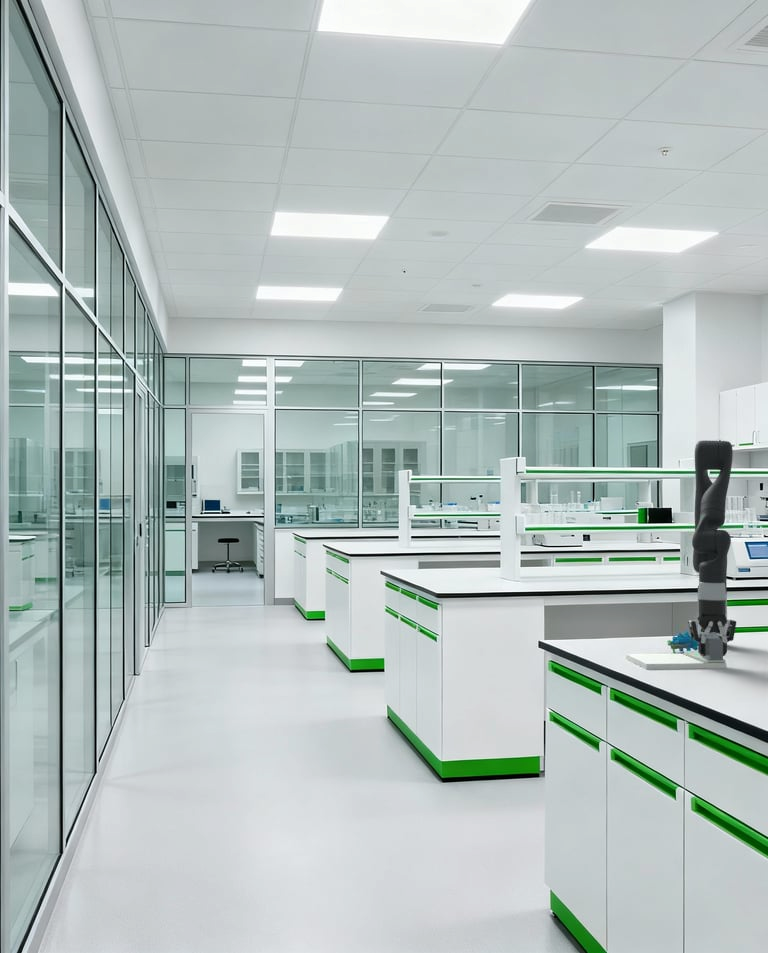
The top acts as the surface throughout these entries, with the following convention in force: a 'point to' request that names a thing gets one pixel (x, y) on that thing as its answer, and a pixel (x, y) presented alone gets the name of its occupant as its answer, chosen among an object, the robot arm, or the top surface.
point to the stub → (710, 650)
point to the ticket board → (671, 661)
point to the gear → (683, 642)
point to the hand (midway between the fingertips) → (712, 655)
